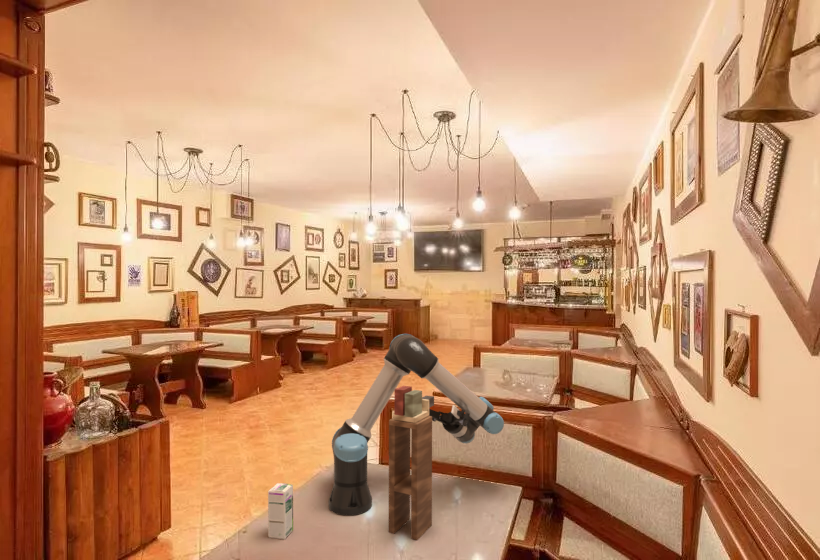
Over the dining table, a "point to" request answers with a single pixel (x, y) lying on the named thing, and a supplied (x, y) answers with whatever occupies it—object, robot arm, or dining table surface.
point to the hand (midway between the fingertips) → (434, 406)
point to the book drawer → (411, 404)
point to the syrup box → (280, 511)
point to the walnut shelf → (410, 476)
